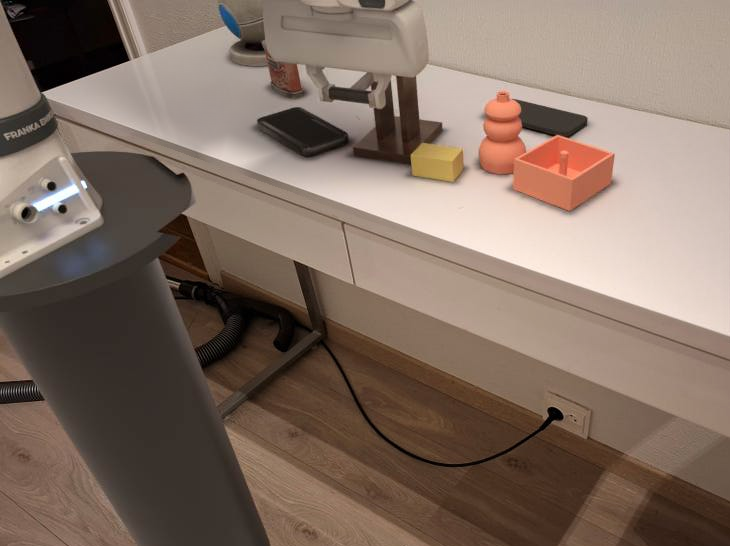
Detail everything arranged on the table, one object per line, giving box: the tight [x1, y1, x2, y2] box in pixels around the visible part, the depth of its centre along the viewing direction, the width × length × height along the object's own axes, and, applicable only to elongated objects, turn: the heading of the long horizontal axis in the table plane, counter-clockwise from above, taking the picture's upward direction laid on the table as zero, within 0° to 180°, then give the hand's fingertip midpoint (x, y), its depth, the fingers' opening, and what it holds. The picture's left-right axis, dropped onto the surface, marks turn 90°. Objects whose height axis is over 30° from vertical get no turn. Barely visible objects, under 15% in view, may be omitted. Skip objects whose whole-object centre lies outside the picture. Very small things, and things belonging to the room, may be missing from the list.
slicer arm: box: [329, 72, 375, 105], centre depth 88 cm, size 14×6×2 cm, turn 161°
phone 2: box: [485, 98, 589, 138], centre depth 104 cm, size 7×1×15 cm
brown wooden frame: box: [352, 76, 444, 165], centre depth 95 cm, size 12×9×14 cm
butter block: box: [410, 143, 465, 183], centre depth 91 cm, size 4×6×3 cm, turn 71°
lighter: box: [262, 40, 305, 99], centre depth 112 cm, size 8×3×10 cm, turn 42°
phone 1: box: [256, 106, 350, 157], centre depth 101 cm, size 8×1×15 cm
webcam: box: [217, 0, 268, 67], centre depth 124 cm, size 13×13×15 cm
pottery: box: [478, 90, 616, 212], centre depth 88 cm, size 18×10×10 cm, turn 49°
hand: (353, 103), depth 84 cm, fingers closed on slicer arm, 5 cm apart
